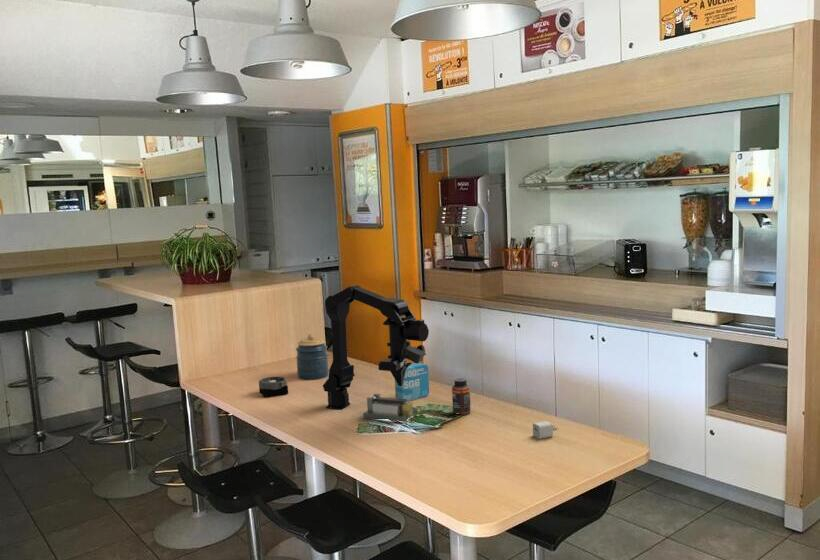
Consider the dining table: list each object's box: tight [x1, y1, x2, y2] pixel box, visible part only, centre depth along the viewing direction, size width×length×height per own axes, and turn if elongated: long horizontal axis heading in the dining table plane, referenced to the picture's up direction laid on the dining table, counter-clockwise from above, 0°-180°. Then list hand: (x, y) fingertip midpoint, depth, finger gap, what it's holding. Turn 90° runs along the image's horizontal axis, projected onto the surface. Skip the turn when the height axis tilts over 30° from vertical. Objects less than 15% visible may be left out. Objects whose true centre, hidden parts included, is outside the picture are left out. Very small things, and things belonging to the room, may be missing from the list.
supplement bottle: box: [451, 377, 472, 416], centre depth 236 cm, size 6×6×11 cm
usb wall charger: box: [532, 420, 559, 440], centre depth 211 cm, size 4×7×4 cm, turn 111°
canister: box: [295, 333, 330, 380], centre depth 292 cm, size 13×13×18 cm
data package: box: [394, 362, 430, 402], centre depth 255 cm, size 12×4×12 cm, turn 125°
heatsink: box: [362, 393, 418, 421], centre depth 235 cm, size 15×10×6 cm, turn 65°
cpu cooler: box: [258, 376, 289, 399], centre depth 269 cm, size 10×6×10 cm
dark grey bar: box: [371, 395, 408, 403], centre depth 235 cm, size 13×3×2 cm, turn 65°
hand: (400, 385), depth 232 cm, fingers closed
